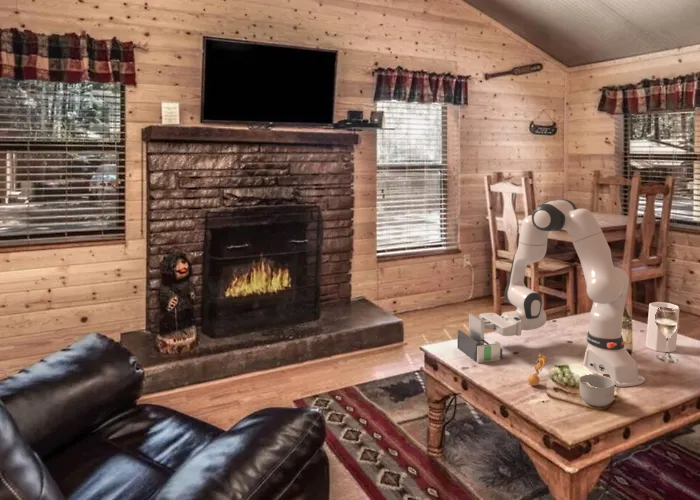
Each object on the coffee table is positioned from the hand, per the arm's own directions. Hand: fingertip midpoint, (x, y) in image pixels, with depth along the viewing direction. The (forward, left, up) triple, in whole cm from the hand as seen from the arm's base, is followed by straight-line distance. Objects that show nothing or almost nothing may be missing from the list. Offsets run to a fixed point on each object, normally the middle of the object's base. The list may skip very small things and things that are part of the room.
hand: (480, 325), depth 217 cm
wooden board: (-2, +2, -10) cm, 10 cm away
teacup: (-50, -16, -12) cm, 54 cm away
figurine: (-34, -4, -12) cm, 36 cm away
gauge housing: (0, 0, -12) cm, 12 cm away
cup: (-20, -74, -12) cm, 77 cm away
